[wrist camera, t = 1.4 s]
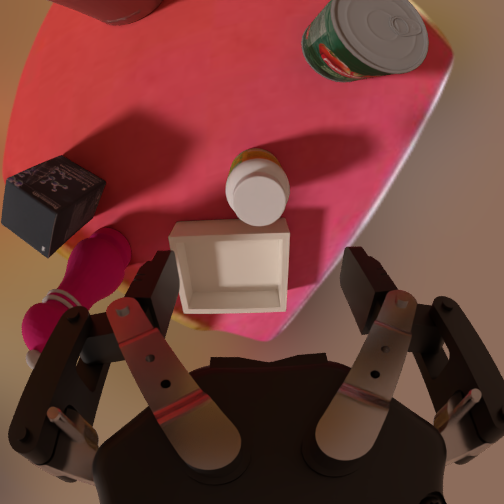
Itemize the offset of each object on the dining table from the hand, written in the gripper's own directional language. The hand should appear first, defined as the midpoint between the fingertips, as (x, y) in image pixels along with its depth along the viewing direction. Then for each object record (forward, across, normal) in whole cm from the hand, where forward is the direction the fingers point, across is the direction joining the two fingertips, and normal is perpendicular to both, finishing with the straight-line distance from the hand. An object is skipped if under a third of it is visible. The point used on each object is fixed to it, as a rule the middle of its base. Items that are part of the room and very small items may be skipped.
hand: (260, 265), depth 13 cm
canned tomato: (+18, -9, -14) cm, 25 cm away
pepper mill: (+18, +19, +9) cm, 27 cm away
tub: (+18, +3, +10) cm, 21 cm away
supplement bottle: (+18, 0, 0) cm, 18 cm away
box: (+18, +22, 0) cm, 28 cm away
